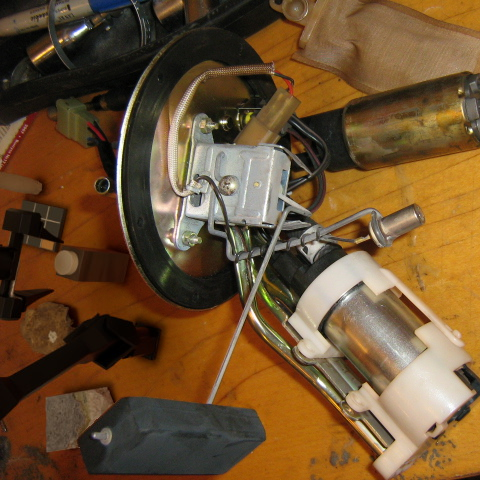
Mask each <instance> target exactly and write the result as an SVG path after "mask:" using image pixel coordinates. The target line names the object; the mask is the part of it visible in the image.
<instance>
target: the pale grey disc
mask: <svg viewBox="0 0 480 480" xmlns="http://www.w3.org/2000/svg"><path fill="white" fill-rule="evenodd" d="M53 264H54V270H55V272H56V271H57V273H59V274H61V275H71V274H73V273H74V272H75V271H76V269H77V267H78V257H77V255H76V254H75V253H74V252H73V251H66V250H63V251H61V250H60V251H58V252H57V254H56V256H55V258H54V263H53Z"/></svg>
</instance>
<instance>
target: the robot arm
mask: <svg viewBox="0 0 480 480" xmlns="http://www.w3.org/2000/svg"><path fill="white" fill-rule="evenodd" d="M1 230H3V231H7V232H10V233H9V238H8V243H7V246H6V245H3V244H2V243H0V320H1V321H6V322H13V321H15V322H16V321H19V320H20V319H21V318H22V315H23V313H24V314H25V313H26V311H27V310H28V308H29V307H30V306H31V305H33V304H34V303H36V302H37V301H39V300H40V299H41V300H42V298H45V297H46V296H48V295H51V294H53V293H54V292H55V289H53V288H32V289H23V290H22V289H20V290H19V289H18V290H17V289H16V284H17V280H18V279H17V278H18V274H19V271H20V270H19V269H20V266H21V254H22V250H23V244H24V243H23V240H24V235H28V236H32V237H36V238H40V239H43V240H47V241H51V242H56V243H60V244H65V241H64V240H62V238H61V239H59V238H57V237H55V236H54V235H52V234H51V233H50V232H49V231H47V230H46V229H45V228H44V222H43V221H41V214H40V213H37V212H32V211H26V210H21V208H16V207H15V208H14V207H9V208H7V209H6V210H5V212H4V216H3V221H2V226H1ZM15 289H16V290H15ZM74 328H75V329H74V330H73V331H72V332H70V333H69V334H68V335H67V336H66V337H65V338H64V339H62V340H63V341H64V342H65V343H66V344H65V345H63V346H62V347H60V348H58V349H56V350H55V351H53V352H51V353H49V354H48V355H44V356H42V357H40V358H39V359H36V360H35V361H33V362H32V363H30V364H28V365H27V366H25V367H23V368H21V369H19V370H17V371H16V372H14V373H12V374H10V375H7V376H0V422H1V421H3V420H4V419H5V417H6V416H8V415H9V414H10V413H11V412H12V411H13V410H14V409H15V408H16V407H17V406H18V405H19V404H20V403H21V402H22V401H24V400H26V399H27V398H28V397H31V396H32V395H34V394H35V393H37V392H38V391H40V390H41V389H42V388H44V387H46V386H48V385H49V384H50V383H52V382H53V381H54V380H56V379H58V378H60V377H61V376H62V375H64V374H65V373H67V372H69V371H70V370H71V369H73V368H74V367H76V366H78V365H87V364H89V363H93V364H95V365H97V366H98V367H100V368H102V369H103V370H105V371H109V369H111V368H113V367H114V366H115V365H116V364H117V363H118V362H120V361H121V360H127V359H134V358H138V357H139V358H140V357H141V358H144V359H146V360H149V361H151V362H152V361H155V360H156V357H157V351H158V347H159V343H160V338H161V334H162V329H161V328H160V327H157V326H154V325H151V324H148V323H145V322H142V321H139V320H138V321H137V320H136V321H135V322H133V321H132V320H128V319H125V318H122V317H121V318H120V317H117V316H113V315H111V314H109V313H104V314H102V315H101V314H100V313H99V312H97V313H96V314H95V315H94V316H92V317H91V318H87V319H85V320H83V321H82V322H81V323H80V324H79V325H77V326H76V327H74Z"/></svg>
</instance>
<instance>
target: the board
mask: <svg viewBox="0 0 480 480" xmlns="http://www.w3.org/2000/svg"><path fill="white" fill-rule="evenodd" d="M21 202H22V203H21V208H20V209H21V210H26V211H32V212H37V213H40V214H41V221H43V222H44V228H45V229H46V230H47V231H49V232H50V233H51V234H52V235H54V236H55V237H57V238H59V239H61V240H62V234H63V230H64V227H65V222H66V216H67V214H68V213H67V212H68V209H67V208H62V207H57V206H53V205H50V204H49V205H48V204H45V203H39V202H35V201H31V200H25V199H23V200H22V201H21ZM23 244H24V245H28V246H31V247H34V248H38V249H42V250H46V251H49V252H53V253H59V248H60V244H61V243H56V242H51V241H47V240H43V239H40V238H36V237H32V236H28V235H24V240H23Z"/></svg>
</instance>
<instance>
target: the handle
mask: <svg viewBox="0 0 480 480" xmlns="http://www.w3.org/2000/svg"><path fill="white" fill-rule="evenodd" d="M0 189H3V190H6V191H10V192H13V193H14V192H15V193H22V194H32V195H39V194H40V192H42V191H43V184H42V183H41V182H39V181H38V180H37V179H33V178H30V177H27V176H24V175H21V174H16V173H10V172H6V171H0Z"/></svg>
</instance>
